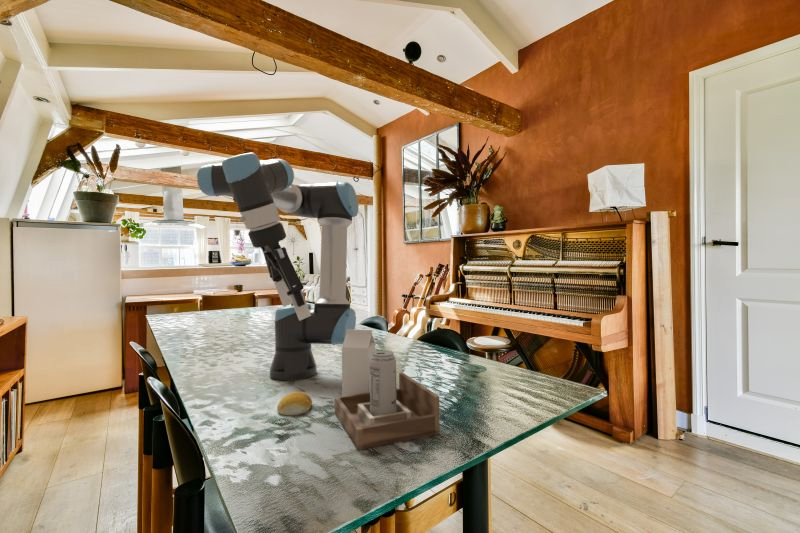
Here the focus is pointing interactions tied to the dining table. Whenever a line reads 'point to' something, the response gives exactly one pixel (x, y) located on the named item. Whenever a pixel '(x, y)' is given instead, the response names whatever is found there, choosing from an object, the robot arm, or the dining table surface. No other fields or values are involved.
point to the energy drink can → (382, 383)
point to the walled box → (390, 416)
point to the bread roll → (294, 404)
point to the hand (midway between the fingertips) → (296, 310)
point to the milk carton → (357, 361)
